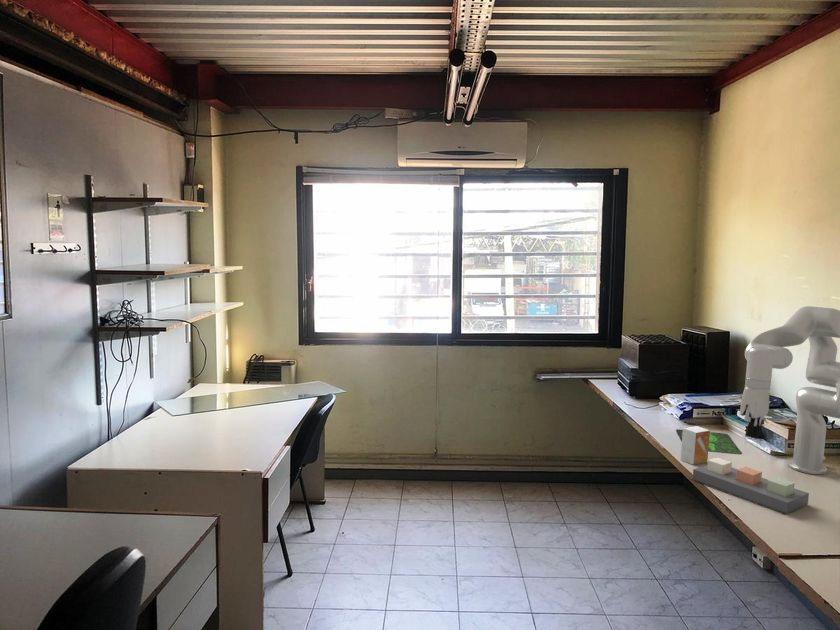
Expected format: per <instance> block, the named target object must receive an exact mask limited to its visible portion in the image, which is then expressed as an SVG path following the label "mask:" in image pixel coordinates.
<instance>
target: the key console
mask: <svg viewBox="0 0 840 630" xmlns="http://www.w3.org/2000/svg"><path fill="white" fill-rule="evenodd" d="M707 466H708V464H706V465H703V466H699V467H696V468H693V470H692V481H695V482H697V483H699V484H702V485H706V486H709V487H710V488H713V489H716V490H719V491H721V492H724V493H727V494H730V495H731V496H735V497H738V498H740V499H743V500H745V501H747V502H751V503H754V504H757V505H759V506H762V507H764V508H767V509H770V510H772V511H774V512H777V513H781V514H783V515H788V514H790V513H793V512H795V511H797V510H800V509H802V508H804V507H806V506H808V505H809V495H810V493H809V492H807V491H804V490H801V489H797V488H796V487H794V494H792V495H790V496H787V497H784V496H781V495H778V494H775V493H772V492H769V491H767V487H768V480H769V479H767V478H764V477H761V483H758V484H756V485H753V486H752V485H749V484H746V483H743V482H741V481H738V480H736V473H737V470H738V469H739V468H738V469H737V468H734V467H731V472H730V473H727V474H725V475H721V474H718V473H715V472H712V471H709V470H707Z"/></svg>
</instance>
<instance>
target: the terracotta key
mask: <svg viewBox="0 0 840 630" xmlns="http://www.w3.org/2000/svg"><path fill="white" fill-rule="evenodd" d="M762 475H763V471H760V470H758V469H757V470H756V469H755V468H751V467H748V466H743V467H740V468H738V470H737V473H736V480H738V481H741V482H743V483H746V484H749V485H752V486H753V485H756V484H758V483H761V477H762ZM762 478H763V477H762Z"/></svg>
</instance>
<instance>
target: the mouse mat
mask: <svg viewBox="0 0 840 630" xmlns="http://www.w3.org/2000/svg"><path fill="white" fill-rule="evenodd" d="M675 432H676V434H677V436H678V437H679V440H680V441H681V442H682V434H683V429H679V428H677V429H675ZM709 452H710V453H719V454H720V453H721V454H730V455H742V454H743V453H742V451H741V450H740V449H739V447H738V446H737V445H736V443H735V442H734V441H733V439H732V438H731V436H730V435H729V434H728V433H723V432H714V431H710V436H709V448H708V453H709Z"/></svg>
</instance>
